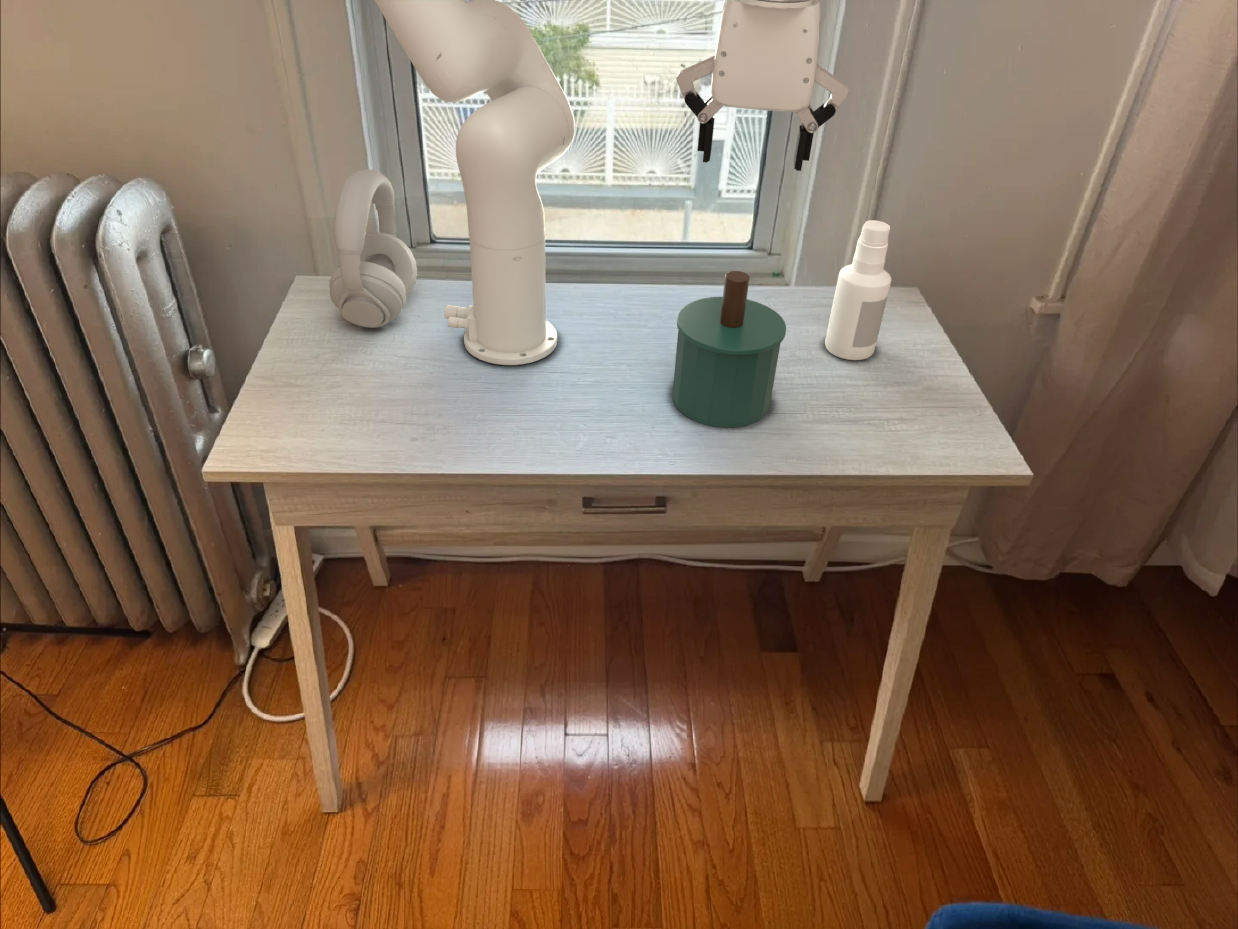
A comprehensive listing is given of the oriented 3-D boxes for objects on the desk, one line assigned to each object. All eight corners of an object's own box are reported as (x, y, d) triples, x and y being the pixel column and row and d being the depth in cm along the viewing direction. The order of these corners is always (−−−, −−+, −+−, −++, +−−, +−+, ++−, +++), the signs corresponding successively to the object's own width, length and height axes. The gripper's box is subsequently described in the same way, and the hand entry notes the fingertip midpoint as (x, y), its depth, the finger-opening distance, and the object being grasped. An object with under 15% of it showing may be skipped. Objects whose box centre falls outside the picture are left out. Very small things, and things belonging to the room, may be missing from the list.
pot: (668, 421, 112) (675, 346, 106) (677, 368, 122) (683, 297, 115) (768, 432, 111) (781, 357, 105) (769, 378, 121) (781, 307, 114)
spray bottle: (874, 364, 125) (905, 239, 114) (823, 357, 125) (849, 232, 114) (873, 339, 130) (903, 218, 119) (824, 333, 131) (849, 211, 120)
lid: (671, 352, 106) (676, 296, 101) (680, 300, 116) (685, 246, 111) (785, 365, 105) (795, 308, 100) (784, 310, 115) (793, 257, 110)
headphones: (398, 349, 123) (381, 204, 110) (322, 344, 123) (296, 199, 111) (429, 285, 137) (417, 151, 125) (361, 280, 137) (342, 147, 125)
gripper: (864, -18, 89) (832, 157, 100) (687, -31, 91) (674, 143, 101) (870, -2, 84) (835, 182, 94) (681, -16, 85) (667, 167, 96)
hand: (751, 162), depth 98 cm, fingers open, 9 cm apart
